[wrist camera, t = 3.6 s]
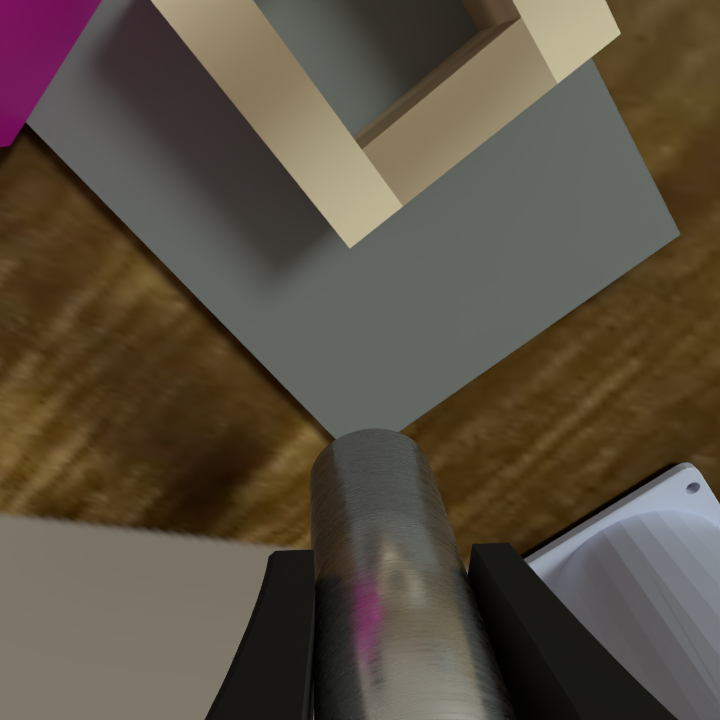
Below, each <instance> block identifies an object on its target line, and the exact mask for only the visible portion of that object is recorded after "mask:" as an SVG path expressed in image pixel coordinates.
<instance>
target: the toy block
mask: <svg viewBox="0 0 720 720" xmlns="http://www.w3.org/2000/svg"><path fill="white" fill-rule="evenodd" d="M101 1H102V0H0V147H4V146H11V144H12V143H13V141H14V139H15V138H16V136H17V135H18V133H19V131H20V130H21V128H22V127H23V125H24V123H25V122H26V120H27V119H28V117H29V115H30V114H31V112H32V111H33V109H34V108H35V106H36V104H37V103H38V101H39V100H40V98H41V96H42V95H43V93H44V92H45V90H46V88H47V87H48V85H49V84H50V82H51V80H52V79H53V77H54V76H55V74H56V73H57V71H58V69H59V68H60V66H61V65H62V63H63V61H64V60H65V58H66V57H67V55H68V53H69V52H70V50H71V49H72V47H73V45H74V44H75V42H76V41H77V39H78V38H79V36H80V34H81V33H82V31H83V30H84V28H85V26H86V25H87V23H88V22H89V20H90V18H91V17H92V15H93V14H94V12H95V11H96V9H97V7H98V6H99V4H100V3H101Z"/></svg>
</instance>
